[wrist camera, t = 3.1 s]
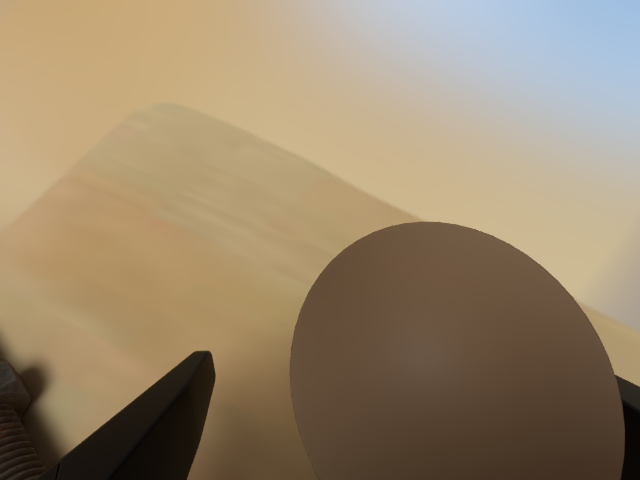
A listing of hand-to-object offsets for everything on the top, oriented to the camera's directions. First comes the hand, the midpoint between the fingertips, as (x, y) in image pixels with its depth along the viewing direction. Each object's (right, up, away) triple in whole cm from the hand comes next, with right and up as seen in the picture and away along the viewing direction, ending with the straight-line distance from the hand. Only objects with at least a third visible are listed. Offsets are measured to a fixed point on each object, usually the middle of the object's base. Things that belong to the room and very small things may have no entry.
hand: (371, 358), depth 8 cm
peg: (0, -3, +7) cm, 8 cm away
